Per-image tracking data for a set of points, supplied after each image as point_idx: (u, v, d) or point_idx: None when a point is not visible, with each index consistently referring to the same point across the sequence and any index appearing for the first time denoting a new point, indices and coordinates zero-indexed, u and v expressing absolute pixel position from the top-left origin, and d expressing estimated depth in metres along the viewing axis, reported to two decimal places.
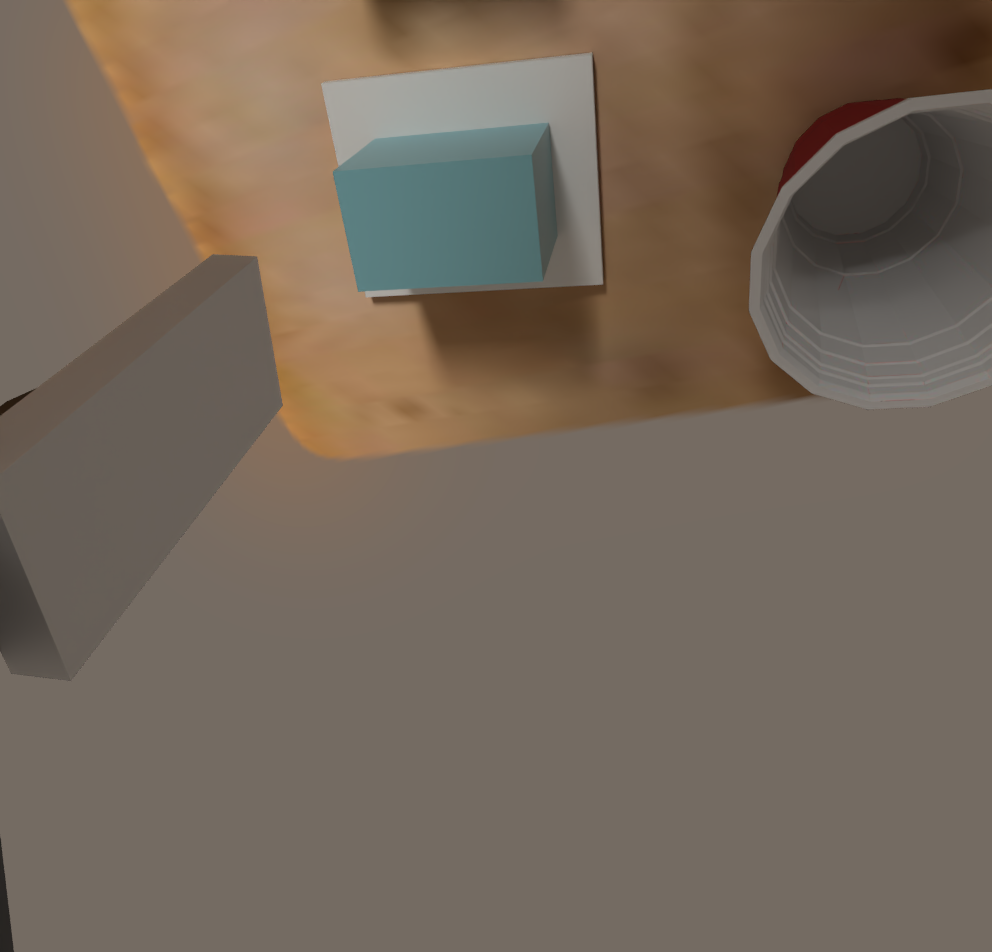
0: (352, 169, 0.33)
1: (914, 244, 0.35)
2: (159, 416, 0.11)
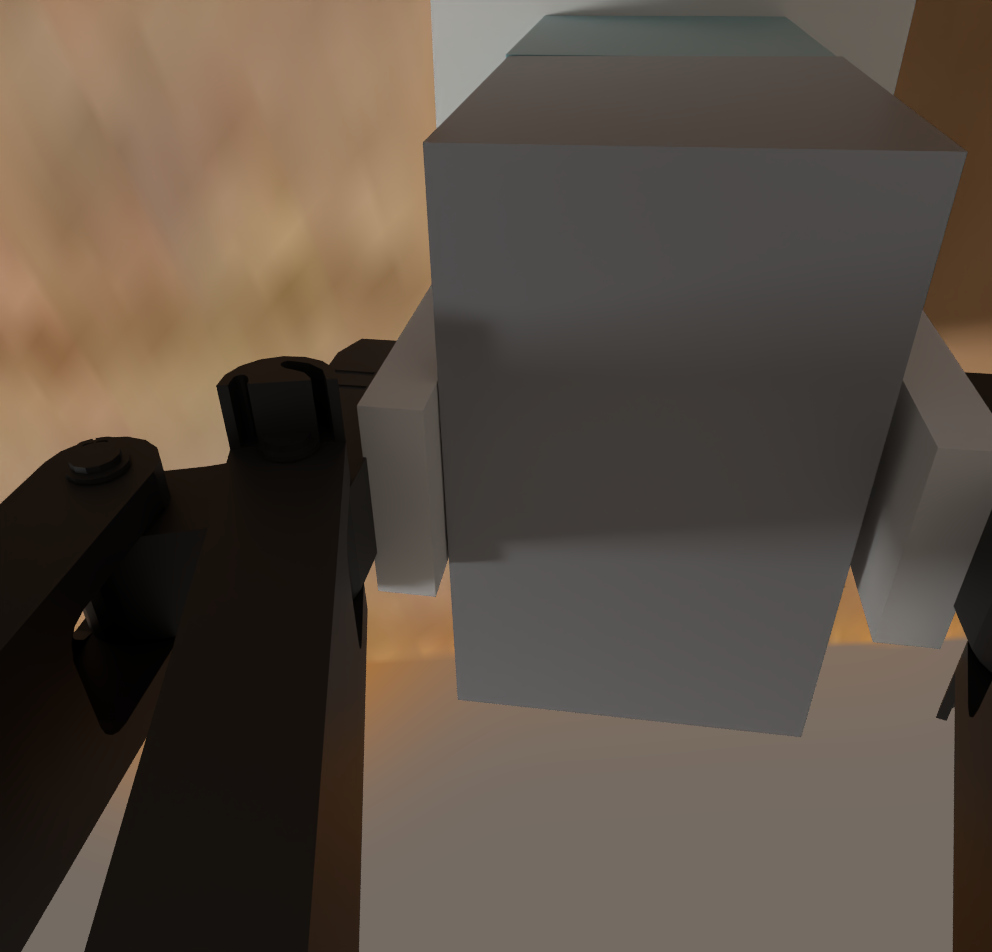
0: None
1: None
2: None
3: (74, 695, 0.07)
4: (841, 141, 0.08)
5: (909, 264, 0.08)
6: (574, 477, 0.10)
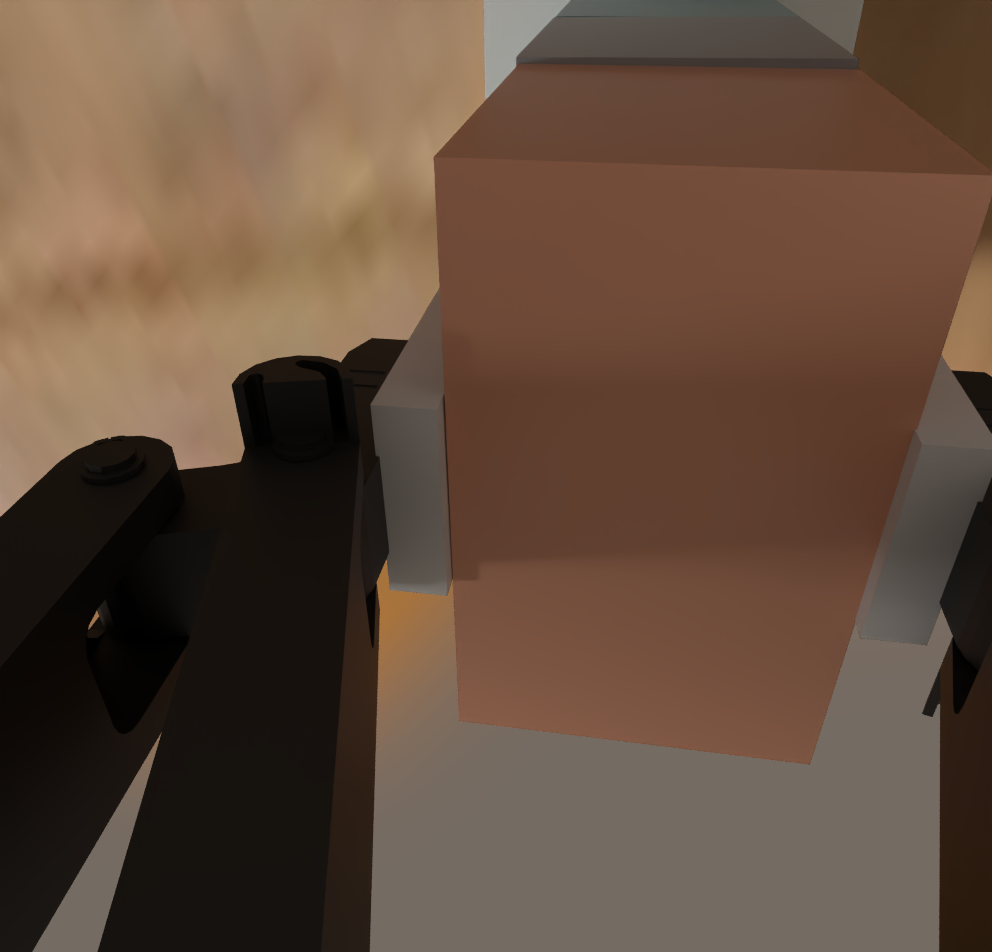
0: None
1: None
2: None
3: (88, 694, 0.07)
4: (782, 55, 0.12)
5: None
6: None
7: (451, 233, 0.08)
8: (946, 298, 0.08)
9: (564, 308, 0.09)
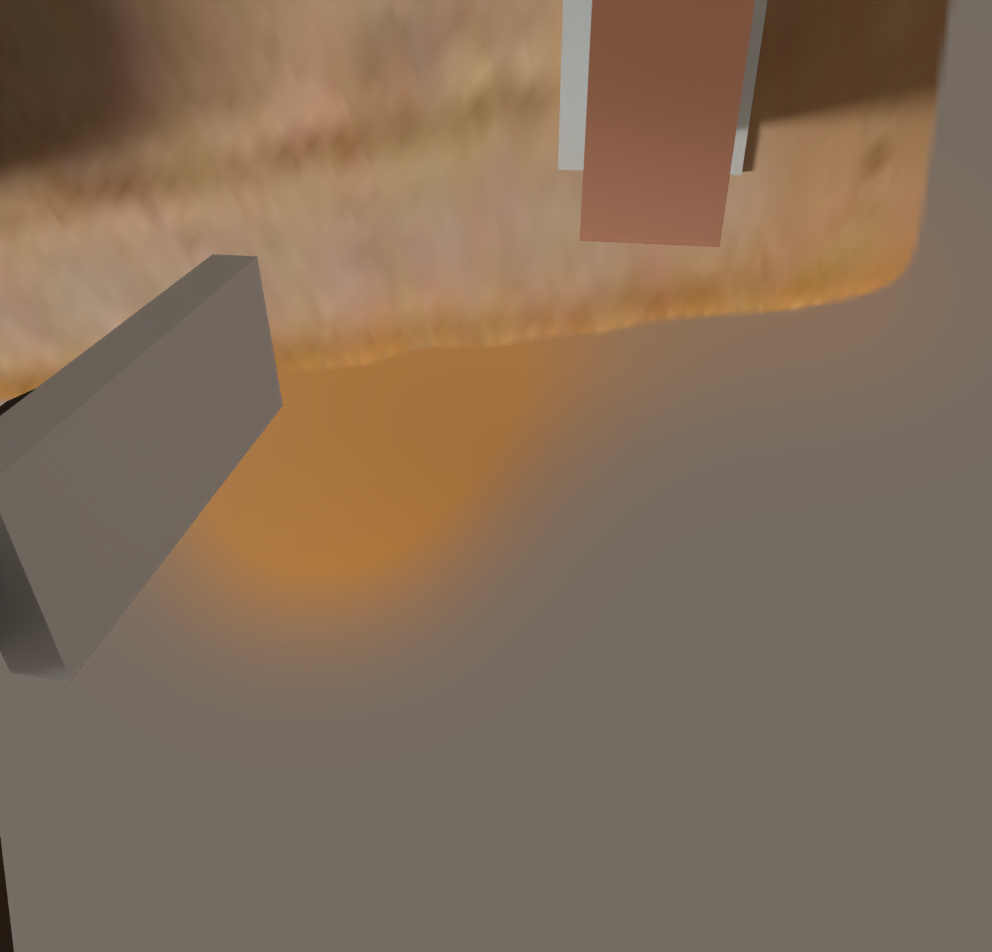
0: None
1: None
2: (159, 416, 0.11)
3: None
4: None
5: None
6: None
7: (596, 14, 0.27)
8: (747, 31, 0.26)
9: (630, 40, 0.27)
